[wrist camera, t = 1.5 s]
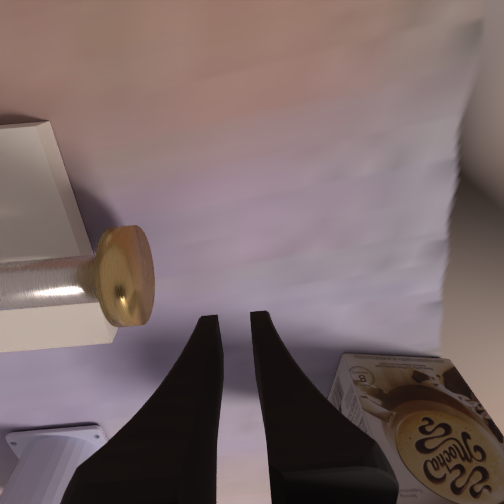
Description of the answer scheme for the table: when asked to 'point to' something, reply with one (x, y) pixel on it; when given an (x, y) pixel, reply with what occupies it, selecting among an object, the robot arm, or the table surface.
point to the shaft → (88, 279)
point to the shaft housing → (42, 238)
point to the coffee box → (424, 427)
